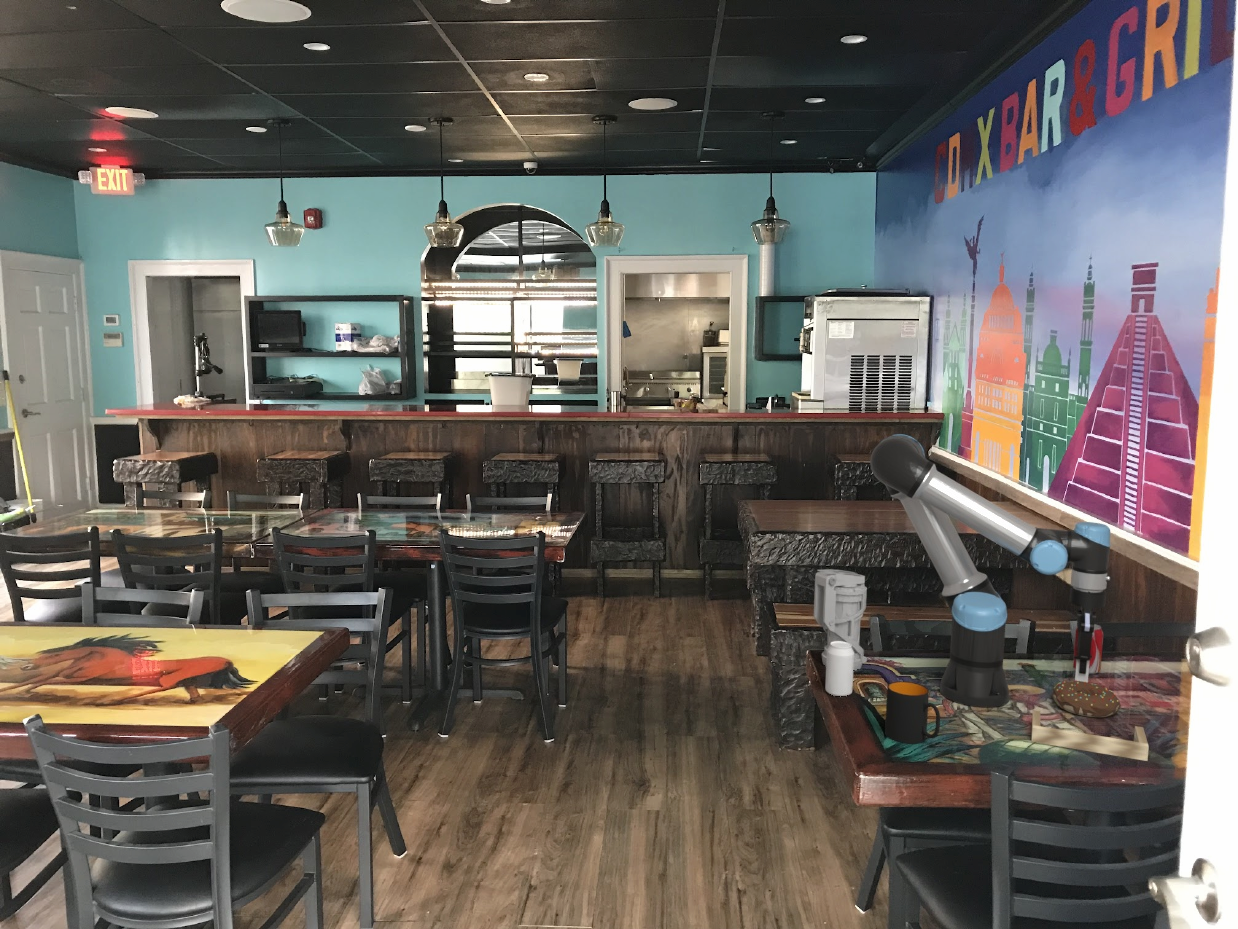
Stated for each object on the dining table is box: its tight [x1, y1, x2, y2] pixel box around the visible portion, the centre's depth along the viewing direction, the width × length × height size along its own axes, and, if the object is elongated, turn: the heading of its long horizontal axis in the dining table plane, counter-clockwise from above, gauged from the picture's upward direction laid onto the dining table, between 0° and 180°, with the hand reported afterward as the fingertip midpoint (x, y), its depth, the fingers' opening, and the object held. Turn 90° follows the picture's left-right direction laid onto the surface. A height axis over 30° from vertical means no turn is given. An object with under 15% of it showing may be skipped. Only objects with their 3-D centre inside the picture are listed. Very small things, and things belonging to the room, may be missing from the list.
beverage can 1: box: [825, 641, 854, 698], centre depth 216 cm, size 6×6×12 cm
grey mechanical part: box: [813, 568, 868, 671], centre depth 235 cm, size 13×10×25 cm
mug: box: [884, 680, 941, 745], centre depth 191 cm, size 8×12×10 cm
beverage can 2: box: [1072, 623, 1104, 675], centre depth 234 cm, size 6×6×12 cm
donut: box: [1051, 679, 1121, 718], centre depth 209 cm, size 14×14×5 cm
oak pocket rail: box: [1031, 709, 1150, 762], centre depth 192 cm, size 21×10×3 cm, turn 66°
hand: (1081, 684), depth 220 cm, fingers closed
